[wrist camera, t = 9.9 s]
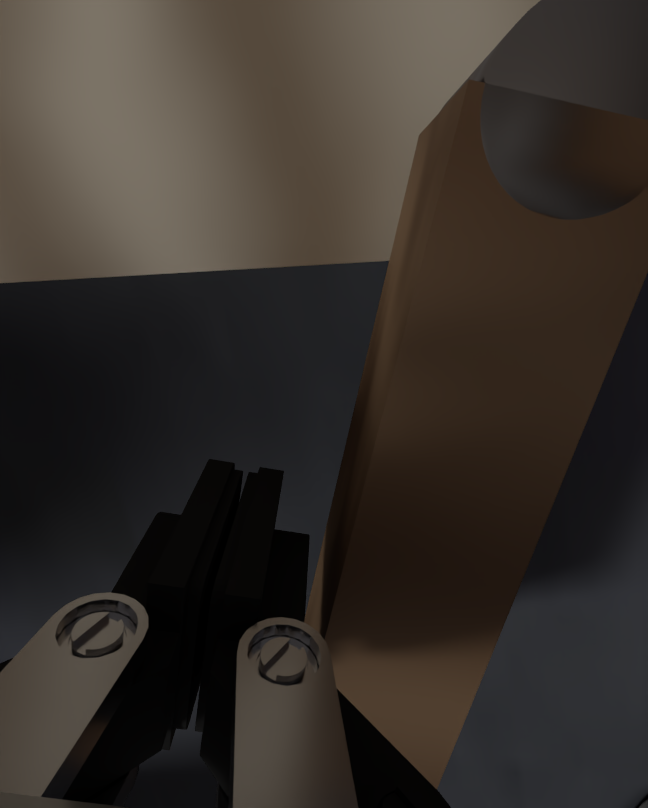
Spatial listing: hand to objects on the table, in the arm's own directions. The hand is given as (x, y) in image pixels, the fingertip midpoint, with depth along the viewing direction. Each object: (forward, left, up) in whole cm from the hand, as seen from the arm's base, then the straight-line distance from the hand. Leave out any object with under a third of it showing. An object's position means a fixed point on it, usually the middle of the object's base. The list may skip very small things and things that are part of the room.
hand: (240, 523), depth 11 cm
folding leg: (-4, -1, -2) cm, 4 cm away
